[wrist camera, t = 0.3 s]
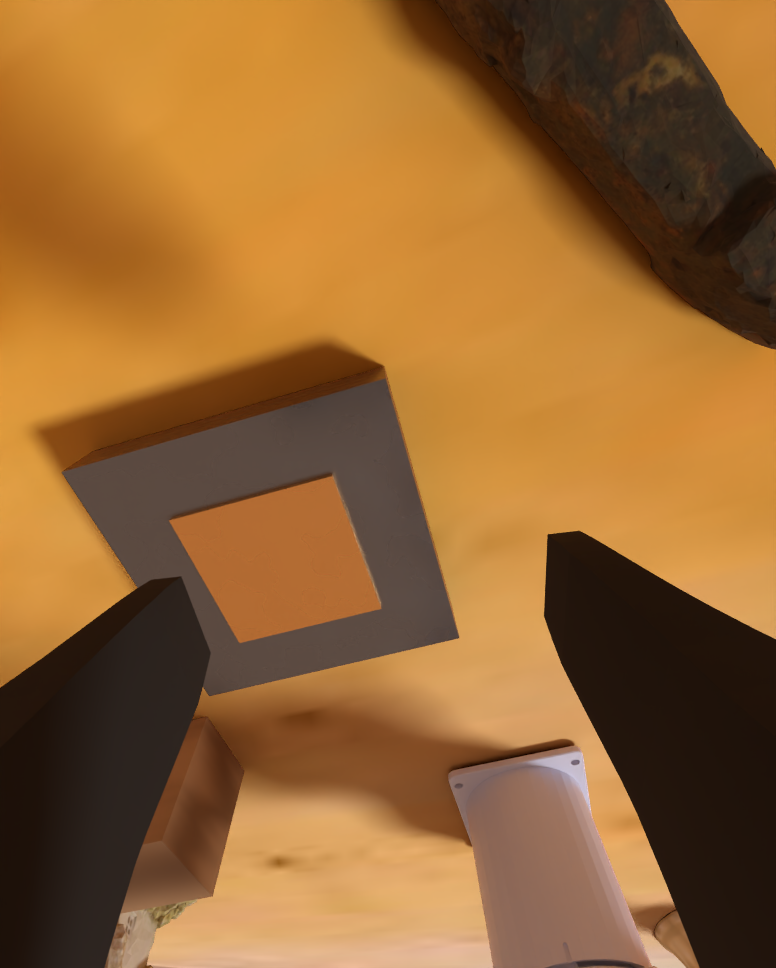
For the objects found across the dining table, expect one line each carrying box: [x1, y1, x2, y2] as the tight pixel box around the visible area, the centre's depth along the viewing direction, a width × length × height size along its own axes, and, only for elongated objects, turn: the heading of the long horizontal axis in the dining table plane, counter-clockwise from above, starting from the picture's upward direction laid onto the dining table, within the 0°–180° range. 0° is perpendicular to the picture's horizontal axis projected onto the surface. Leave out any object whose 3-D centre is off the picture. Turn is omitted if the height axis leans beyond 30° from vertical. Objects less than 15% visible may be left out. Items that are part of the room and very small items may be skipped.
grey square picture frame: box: [62, 366, 459, 696], centre depth 19 cm, size 12×12×2 cm
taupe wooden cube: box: [120, 717, 244, 914], centre depth 23 cm, size 5×5×6 cm
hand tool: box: [435, 0, 776, 349], centre depth 12 cm, size 19×4×5 cm, turn 48°
